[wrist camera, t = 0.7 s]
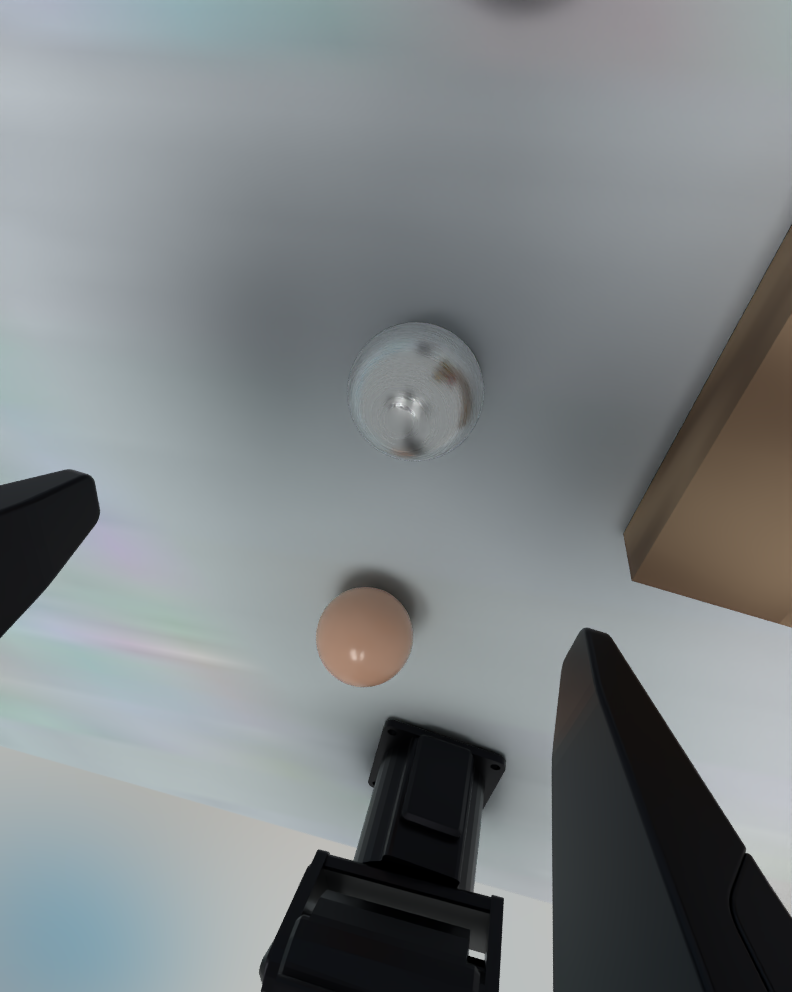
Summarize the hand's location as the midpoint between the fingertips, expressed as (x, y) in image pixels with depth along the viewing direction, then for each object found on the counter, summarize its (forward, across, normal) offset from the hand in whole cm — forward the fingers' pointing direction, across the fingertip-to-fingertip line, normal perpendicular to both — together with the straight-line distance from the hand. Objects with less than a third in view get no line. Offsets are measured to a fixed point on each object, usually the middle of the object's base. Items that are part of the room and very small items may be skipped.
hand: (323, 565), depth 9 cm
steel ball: (+8, 0, 0) cm, 8 cm away
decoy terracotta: (+8, 0, +11) cm, 13 cm away
